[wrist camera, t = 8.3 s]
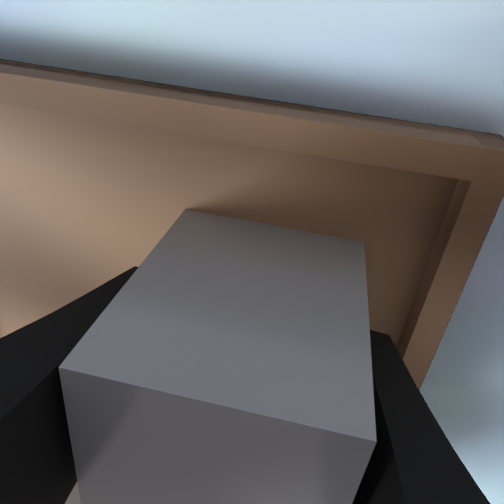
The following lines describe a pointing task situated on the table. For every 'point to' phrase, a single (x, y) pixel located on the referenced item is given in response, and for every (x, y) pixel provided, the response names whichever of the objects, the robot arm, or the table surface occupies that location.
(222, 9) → the table surface
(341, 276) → the block
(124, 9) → the table surface
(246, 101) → the walnut tray
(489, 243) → the table surface
